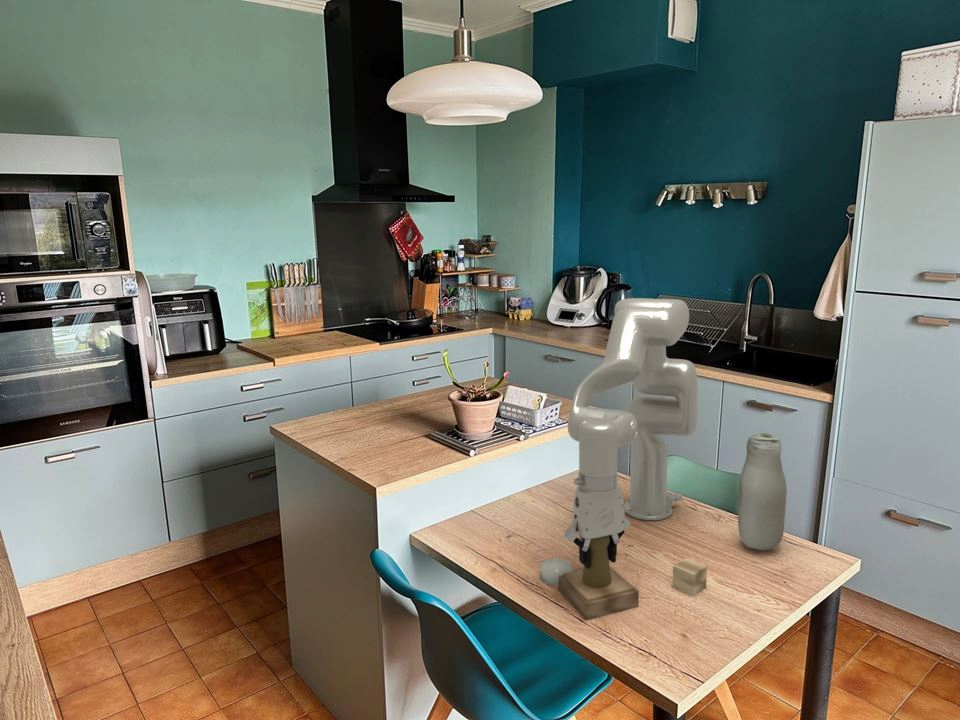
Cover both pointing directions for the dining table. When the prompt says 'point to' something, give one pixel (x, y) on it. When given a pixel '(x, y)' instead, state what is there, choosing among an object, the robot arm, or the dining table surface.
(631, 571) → the dining table surface
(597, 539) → the pepper shaker
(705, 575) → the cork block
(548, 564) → the pale grey dome
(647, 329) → the robot arm
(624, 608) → the walnut stand
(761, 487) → the glass bottle
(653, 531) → the dining table surface
